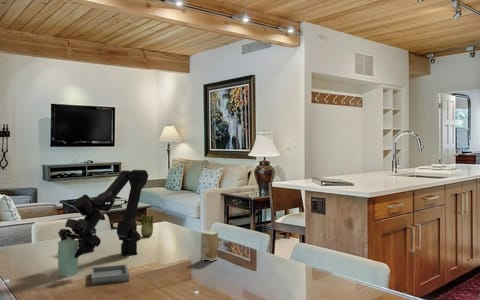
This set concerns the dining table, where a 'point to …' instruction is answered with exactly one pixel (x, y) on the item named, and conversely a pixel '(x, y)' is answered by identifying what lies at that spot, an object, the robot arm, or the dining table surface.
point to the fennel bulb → (147, 226)
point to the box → (109, 274)
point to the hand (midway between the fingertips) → (66, 255)
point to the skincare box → (209, 245)
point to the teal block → (67, 257)
